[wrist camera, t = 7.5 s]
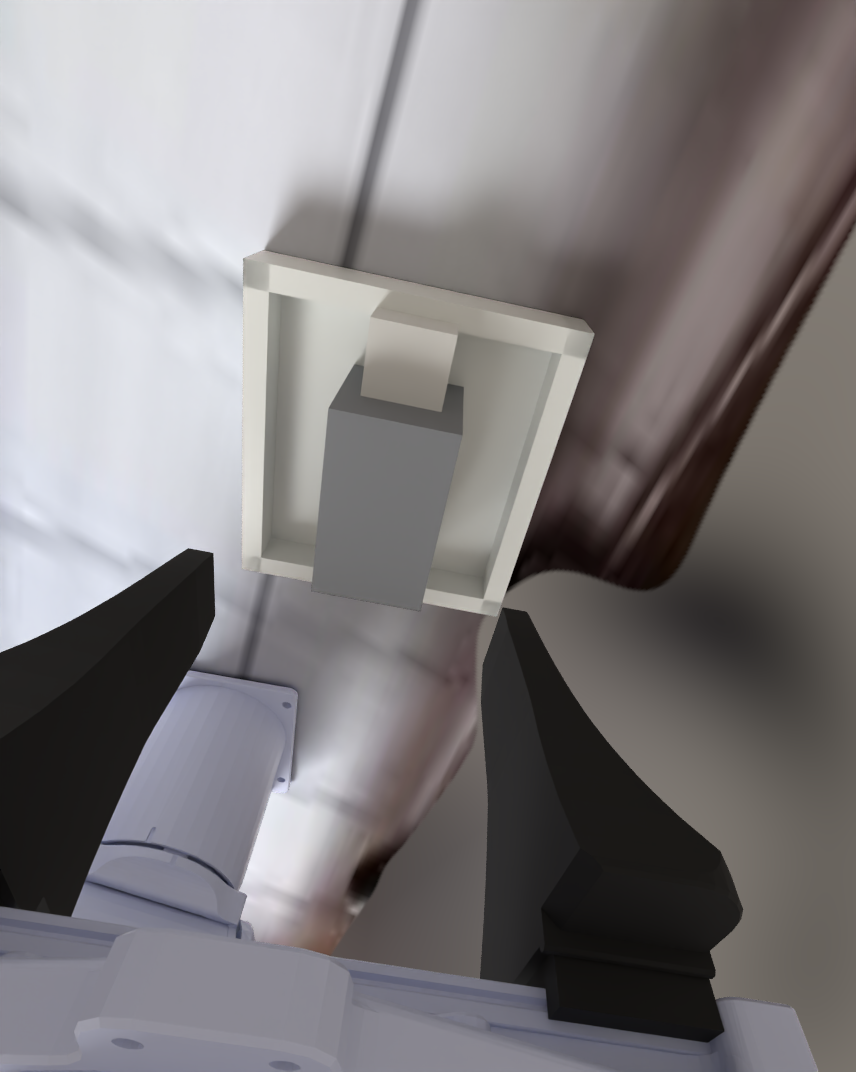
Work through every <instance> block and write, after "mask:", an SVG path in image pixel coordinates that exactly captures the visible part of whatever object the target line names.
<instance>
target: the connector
mask: <svg viewBox="0 0 856 1072" xmlns="http://www.w3.org/2000/svg"><path fill="white" fill-rule="evenodd" d="M458 325H459V324H454V323H450V322H445V321H440V320H436V319H431V318H426V317H421V316H417V315H412V314H407V313H403V312H398V311H393V310H389V309H384V308H379V307H377V308H376V309H375V311H374V312H373V314H372V315H371V317H370V324H369V331H368V339H367V347H366V355H365V363H364V366H361V365H356V364H354V365H353V367H352V369H351V370H350V372H349V374H348V376H347V377H346V379H345V381H344V382H343V384H342V386H341V388H340V389H339V391H338V393H337V394H336V396H335V398H334V399H333V401H332V403H331V405H330V406H329V408H328V417H327V428H326V439H325V449H324V460H323V471H322V481H321V492H320V502H319V513H318V524H317V534H316V545H315V556H314V566H313V577H312V587H311V591H313V592H318V593H324V594H329V595H335V596H340V597H345V598H351V599H356V600H362V601H367V602H372V603H378V604H383V605H389V606H394V607H399V608H405V609H410V610H416V611H420V610H421V606H422V602H423V598H424V594H425V590H426V585H427V581H428V577H429V573H430V569H431V565H432V561H433V556H434V552H435V548H436V544H437V540H438V536H439V532H440V527H441V523H442V519H443V515H444V511H445V507H446V502H447V498H448V494H449V490H450V486H451V482H452V478H453V473H454V469H455V465H456V461H457V457H458V453H459V449H460V444H461V440H462V436H463V399H464V387H462V386H457V385H452V384H448V379H449V375H450V370H451V365H452V360H453V356H454V351H455V346H456V342H457V337H458Z"/></svg>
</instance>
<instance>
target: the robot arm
mask: <svg viewBox="0 0 856 1072" xmlns="http://www.w3.org/2000/svg"><path fill="white" fill-rule="evenodd" d="M214 617H215V594H214V560H213V553H210V552H205V551H199V550H194V549H189V548H188V549H187V550H185V551H183V552H182V553H180V554H179V555H177V556H176V557H174V558H173V559H171V560H169V561H168V562H166V563H165V564H163V565H162V566H160V567H159V568H157V569H156V570H154V571H153V572H151V573H150V574H148V575H147V576H145V577H144V578H142V579H141V580H139V581H138V582H136V583H134V584H133V585H131V586H130V587H128V588H127V589H125V590H123V591H122V592H120V593H119V594H117V595H115V596H114V597H112V598H110V599H109V600H107V601H105V602H103V603H102V604H100V605H98V606H96V607H95V608H93V609H91V610H90V611H88V612H86V613H84V614H83V615H81V616H79V617H77V618H75V619H73V620H71V621H69V622H67V623H66V624H64V625H62V626H60V627H58V628H55V629H53V630H51V631H49V632H47V633H45V634H43V635H41V636H39V637H36V638H34V639H32V640H30V641H28V642H25V643H23V644H20V645H18V646H15V647H13V648H11V649H8V650H6V651H3V652H1V653H0V1072H819V1071H818V1068H817V1066H816V1063H815V1061H814V1058H813V1056H812V1053H811V1050H810V1048H809V1045H808V1043H807V1040H806V1038H805V1035H804V1032H803V1030H802V1027H801V1025H800V1022H799V1020H798V1017H797V1015H796V1012H795V1010H794V1009H793V1008H792V1007H791V1006H789V1005H786V1004H780V1003H773V1002H767V1001H760V1000H753V999H747V998H740V997H724V998H719V999H716V1000H715V997H714V994H713V990H712V987H711V984H710V980H709V979H713V977H715V967H714V964H713V961H712V958H711V954H710V950H711V949H712V948H713V947H715V945H717V944H718V943H719V942H720V941H721V940H722V939H723V938H725V937H726V936H727V935H728V934H729V933H730V932H732V930H733V929H734V928H735V926H737V924H738V923H739V921H740V920H741V917H742V912H743V908H742V905H741V903H740V900H739V897H738V894H737V891H736V888H735V885H734V882H733V880H732V877H731V874H730V872H729V870H728V867H727V865H726V863H725V861H724V858H723V856H722V854H721V852H720V851H719V850H718V849H717V848H716V847H715V846H714V845H712V844H711V843H710V842H709V841H708V840H706V839H705V838H704V837H703V836H702V835H700V834H699V833H698V832H697V831H696V830H694V829H693V828H692V827H691V826H690V825H688V824H687V823H686V822H685V821H684V820H682V818H680V817H679V816H678V815H677V814H676V813H675V812H674V811H673V810H672V809H671V808H670V807H669V806H667V804H665V803H664V802H663V801H662V800H661V799H660V798H659V797H658V796H657V795H656V794H655V793H654V792H653V791H652V790H651V789H650V788H649V787H648V786H647V785H646V784H645V783H644V782H643V781H642V780H641V779H640V778H639V777H638V776H637V775H636V774H635V772H634V771H633V770H632V769H631V768H630V767H629V766H628V765H627V764H626V763H625V762H624V760H623V759H622V758H621V757H620V756H619V755H618V754H617V753H616V751H615V750H614V749H613V748H612V747H611V746H610V744H609V743H608V742H607V741H606V739H605V738H604V737H603V736H602V734H601V733H600V732H599V730H598V729H597V728H596V727H595V725H594V724H593V723H592V722H591V720H590V719H589V717H588V716H587V714H586V713H585V712H584V710H583V709H582V707H581V706H580V704H579V703H578V701H577V700H576V698H575V697H574V695H573V694H572V692H571V691H570V689H569V687H568V686H567V684H566V682H565V681H564V679H563V677H562V676H561V674H560V672H559V671H558V669H557V667H556V666H555V664H554V662H553V660H552V658H551V657H550V655H549V653H548V651H547V649H546V648H545V646H544V644H543V642H542V640H541V638H540V636H539V634H538V632H537V630H536V628H535V627H534V624H533V623H532V621H531V619H530V616H529V615H528V613H527V612H525V611H519V610H514V609H508V608H502V611H501V614H500V617H499V619H498V622H497V625H496V628H495V631H494V634H493V637H492V640H491V643H490V645H489V648H488V651H487V654H486V657H485V660H484V662H483V672H482V690H481V708H482V722H483V736H484V748H485V761H486V774H487V789H488V827H487V830H488V831H487V861H486V862H487V863H486V889H485V908H484V926H483V942H482V957H481V972H480V979H478V978H471V977H464V976H458V975H451V974H445V973H437V972H431V971H424V970H418V969H411V968H405V967H398V966H392V965H385V964H378V963H372V962H365V961H359V960H352V959H345V958H339V957H332V956H328V955H325V954H321V953H318V952H314V951H310V950H306V949H303V948H297V947H290V946H284V945H277V944H270V943H264V942H257V941H255V938H254V931H253V927H252V925H251V924H250V923H249V922H247V921H243V920H240V917H241V914H242V911H243V908H244V904H245V901H246V898H247V895H246V894H244V893H242V892H239V889H240V887H241V885H242V882H243V879H244V876H245V873H246V870H247V867H248V863H249V860H250V857H251V854H252V851H253V848H254V844H255V841H256V838H257V835H258V832H259V829H260V826H261V822H262V819H263V816H264V813H265V810H266V807H267V803H268V800H269V797H270V794H271V792H275V793H286V792H288V790H289V787H290V779H291V768H292V757H293V746H294V735H295V724H296V713H297V702H298V693H297V692H296V691H295V690H294V689H291V688H287V687H282V686H276V685H270V684H265V683H259V682H253V681H248V680H242V679H236V678H230V677H225V676H219V675H213V674H208V673H202V672H196V671H191V670H189V669H190V667H191V666H192V664H193V662H194V661H195V659H196V657H197V655H198V654H199V652H200V650H201V648H202V645H203V643H204V641H205V639H206V636H207V634H208V632H209V629H210V627H211V624H212V622H213V620H214Z"/></svg>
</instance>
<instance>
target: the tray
mask: <svg viewBox="0 0 856 1072" xmlns="http://www.w3.org/2000/svg"><path fill="white" fill-rule="evenodd" d="M377 307H379V308H384V309H389V310H393V311H398V312H403V313H407V314H412V315H417V316H421V317H426V318H431V319H436V320H440V321H445V322H450V323H454V324H459V325H458V337H457V342H456V346H455V351H454V356H453V360H452V365H451V370H450V375H449V379H448V384H452V385H457V386H462V387H464V399H463V436H462V440H461V444H460V449H459V453H458V457H457V461H456V465H455V469H454V473H453V478H452V482H451V486H450V490H449V494H448V498H447V502H446V507H445V511H444V515H443V519H442V523H441V527H440V532H439V536H438V540H437V544H436V548H435V552H434V556H433V561H432V565H431V569H430V573H429V577H428V581H427V585H426V590H425V594H424V598H423V602H422V603H426V604H431V605H437V606H442V607H447V608H453V609H458V610H464V611H469V612H474V613H480V614H485V615H490V616H496V617H497V615H498V613H499V610H500V607H501V604H502V601H503V598H504V595H505V592H506V589H507V587H508V584H509V581H510V578H511V575H512V572H513V569H514V566H515V563H516V561H517V558H518V555H519V552H520V549H521V546H522V543H523V540H524V537H525V534H526V532H527V529H528V526H529V523H530V520H531V517H532V514H533V511H534V508H535V506H536V503H537V500H538V497H539V494H540V491H541V488H542V485H543V482H544V480H545V477H546V474H547V471H548V468H549V465H550V462H551V459H552V456H553V454H554V451H555V448H556V445H557V442H558V439H559V436H560V433H561V430H562V427H563V425H564V422H565V419H566V416H567V413H568V410H569V407H570V404H571V401H572V399H573V396H574V393H575V390H576V387H577V384H578V381H579V378H580V375H581V373H582V370H583V367H584V364H585V361H586V358H587V355H588V352H589V349H590V347H591V344H592V341H593V338H594V335H595V334H594V332H593V331H592V330H591V328H590V327H589V326H588V324H587V323H586V322H585V321H584V320H583V319H579V318H574V317H569V316H565V315H560V314H556V313H551V312H546V311H542V310H537V309H532V308H528V307H523V306H519V305H514V304H509V303H505V302H500V301H496V300H491V299H486V298H482V297H477V296H473V295H468V294H463V293H459V292H454V291H449V290H445V289H440V288H436V287H431V286H426V285H422V284H417V283H413V282H408V281H403V280H399V279H394V278H390V277H385V276H380V275H376V274H371V273H367V272H362V271H357V270H353V269H348V268H343V267H339V266H334V265H330V264H325V263H320V262H316V261H311V260H307V259H302V258H297V257H293V256H288V255H284V254H279V253H274V252H270V251H265V250H263V251H260V252H258V253H255V254H253V255H250V256H248V257H245V258H243V416H242V569H244V570H249V571H254V572H260V573H265V574H270V575H276V576H281V577H287V578H292V579H297V580H303V581H308V582H312V577H313V566H314V556H315V545H316V534H317V524H318V513H319V502H320V492H321V481H322V471H323V460H324V449H325V439H326V428H327V417H328V408H329V406H330V405H331V403H332V401H333V399H334V398H335V396H336V394H337V393H338V391H339V389H340V388H341V386H342V384H343V382H344V381H345V379H346V377H347V376H348V374H349V372H350V370H351V369H352V367H353V365H354V364H356V365H361V366H364V363H365V355H366V347H367V339H368V331H369V324H370V317H371V315H372V314H373V312H374V311H375V309H376V308H377Z"/></svg>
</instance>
